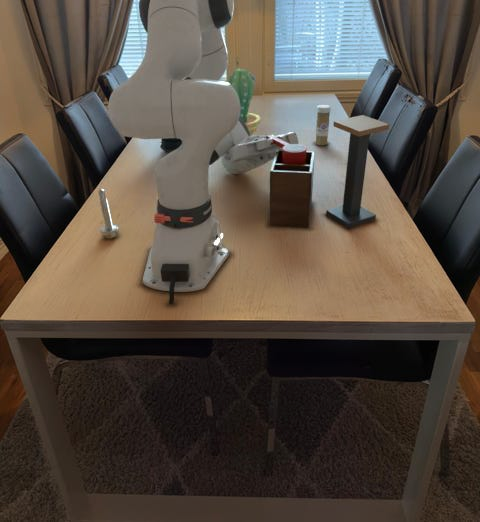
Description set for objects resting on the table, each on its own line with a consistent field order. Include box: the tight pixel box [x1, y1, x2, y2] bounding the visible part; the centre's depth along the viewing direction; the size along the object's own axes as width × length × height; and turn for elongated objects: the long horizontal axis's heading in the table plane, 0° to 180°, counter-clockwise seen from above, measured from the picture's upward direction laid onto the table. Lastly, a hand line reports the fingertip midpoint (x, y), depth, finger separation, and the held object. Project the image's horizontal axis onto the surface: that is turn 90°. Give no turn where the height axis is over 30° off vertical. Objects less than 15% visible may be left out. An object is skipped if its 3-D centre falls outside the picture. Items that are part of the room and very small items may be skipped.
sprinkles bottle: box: [314, 104, 331, 146], centre depth 167 cm, size 5×5×14 cm
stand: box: [325, 114, 390, 230], centre depth 117 cm, size 9×9×25 cm
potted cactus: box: [226, 67, 262, 136], centre depth 169 cm, size 15×15×25 cm
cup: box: [265, 134, 308, 165], centre depth 124 cm, size 15×6×9 cm, turn 30°
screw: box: [98, 188, 120, 239], centre depth 115 cm, size 13×5×5 cm
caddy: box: [269, 150, 316, 229], centre depth 122 cm, size 14×10×15 cm
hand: (277, 140), depth 124 cm, fingers open, 3 cm apart
